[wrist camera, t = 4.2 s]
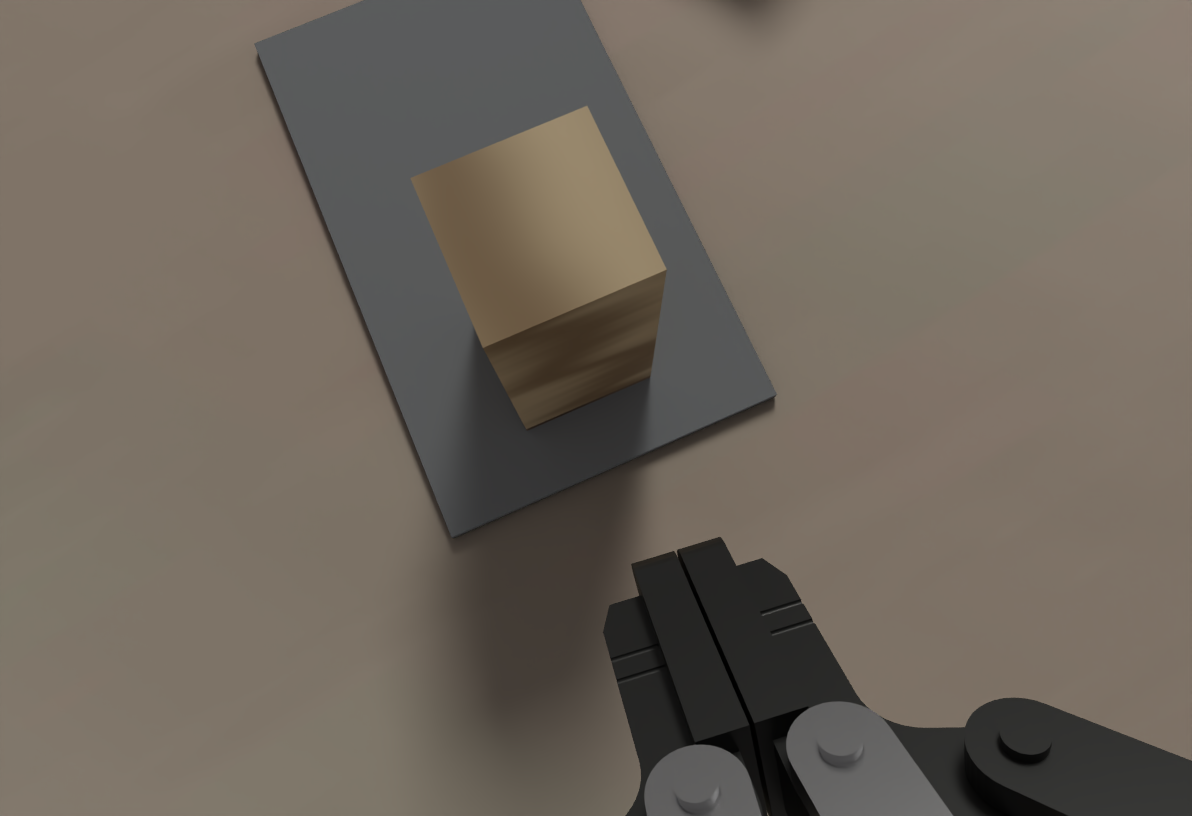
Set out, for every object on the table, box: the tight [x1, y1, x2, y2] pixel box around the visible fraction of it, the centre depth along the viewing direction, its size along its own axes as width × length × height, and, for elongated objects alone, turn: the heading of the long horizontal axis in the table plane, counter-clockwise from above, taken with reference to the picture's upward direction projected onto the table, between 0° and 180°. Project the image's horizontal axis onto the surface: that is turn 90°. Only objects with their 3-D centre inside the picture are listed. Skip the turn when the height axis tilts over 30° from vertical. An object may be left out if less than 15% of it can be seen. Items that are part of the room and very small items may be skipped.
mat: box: [255, 0, 777, 538], centre depth 35 cm, size 13×22×1 cm, turn 24°
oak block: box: [410, 106, 667, 431], centre depth 28 cm, size 5×5×11 cm
